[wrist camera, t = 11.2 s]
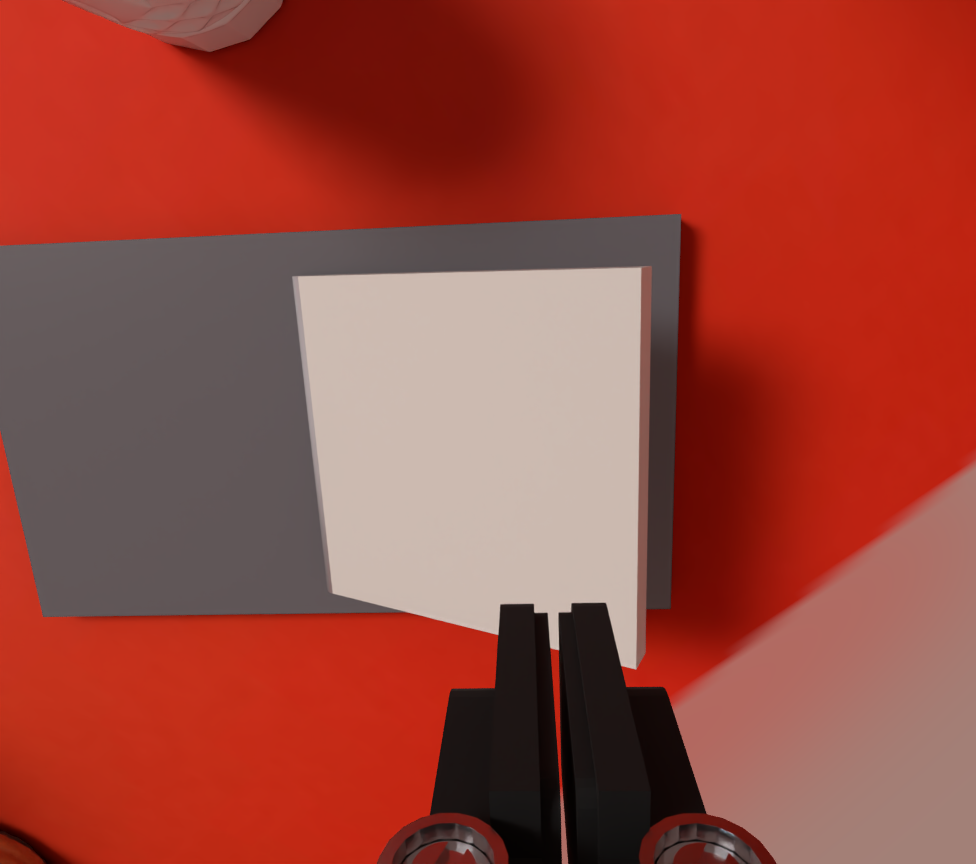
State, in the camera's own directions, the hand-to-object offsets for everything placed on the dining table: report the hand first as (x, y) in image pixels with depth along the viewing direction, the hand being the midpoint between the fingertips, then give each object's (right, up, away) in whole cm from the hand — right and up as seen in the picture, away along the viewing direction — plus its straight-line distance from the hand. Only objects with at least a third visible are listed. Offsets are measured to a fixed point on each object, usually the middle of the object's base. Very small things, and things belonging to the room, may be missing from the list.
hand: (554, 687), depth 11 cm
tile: (-2, +3, +12) cm, 12 cm away
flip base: (-7, +4, +17) cm, 18 cm away
